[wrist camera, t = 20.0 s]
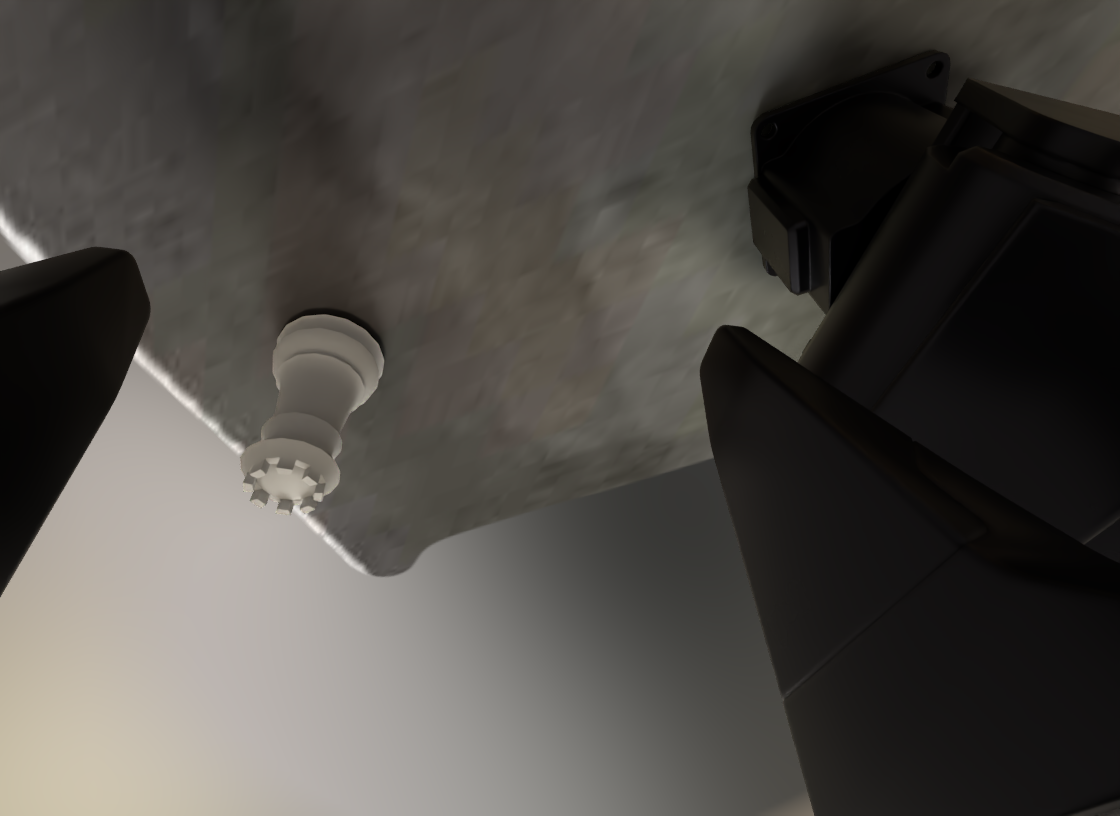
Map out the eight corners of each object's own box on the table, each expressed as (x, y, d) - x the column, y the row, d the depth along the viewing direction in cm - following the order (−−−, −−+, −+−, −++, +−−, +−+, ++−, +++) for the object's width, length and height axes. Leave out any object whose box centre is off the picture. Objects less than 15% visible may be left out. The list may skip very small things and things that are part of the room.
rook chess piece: (315, 398, 26) (263, 542, 20) (257, 323, 23) (177, 466, 18) (403, 375, 26) (376, 515, 20) (355, 295, 23) (307, 432, 17)
